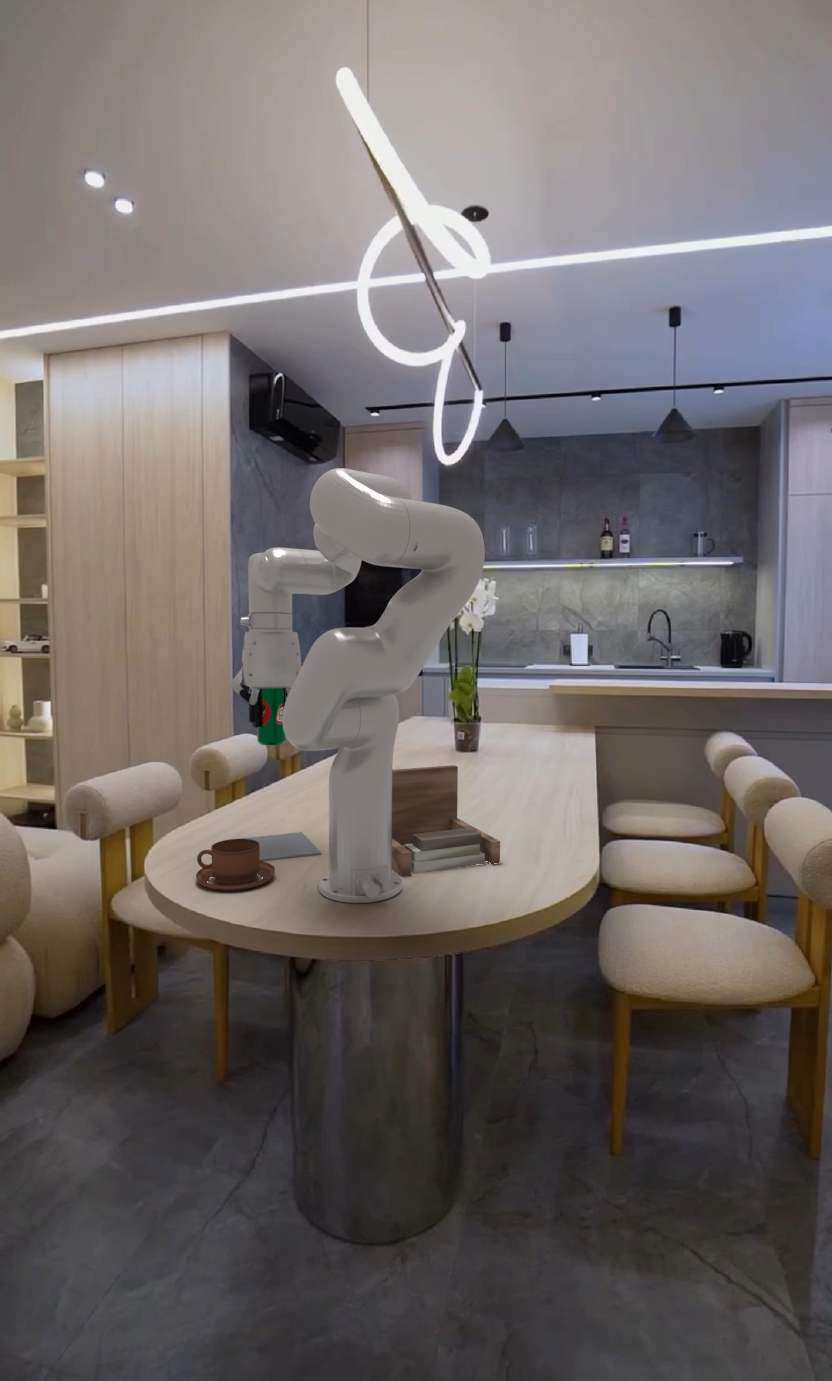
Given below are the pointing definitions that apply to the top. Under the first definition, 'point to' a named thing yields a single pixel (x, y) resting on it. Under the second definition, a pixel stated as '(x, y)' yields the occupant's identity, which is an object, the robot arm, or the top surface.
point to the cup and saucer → (234, 865)
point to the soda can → (271, 716)
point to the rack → (433, 824)
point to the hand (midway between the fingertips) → (271, 724)
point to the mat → (285, 846)
